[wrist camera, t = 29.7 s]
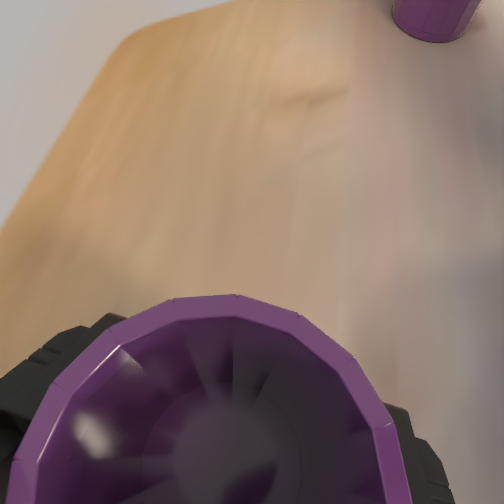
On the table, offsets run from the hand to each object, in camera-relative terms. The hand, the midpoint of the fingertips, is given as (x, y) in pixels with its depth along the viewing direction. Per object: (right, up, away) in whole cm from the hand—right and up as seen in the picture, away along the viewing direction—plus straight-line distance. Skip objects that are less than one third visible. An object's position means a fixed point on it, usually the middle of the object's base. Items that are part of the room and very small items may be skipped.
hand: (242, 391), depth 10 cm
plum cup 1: (-1, -3, +3) cm, 5 cm away
